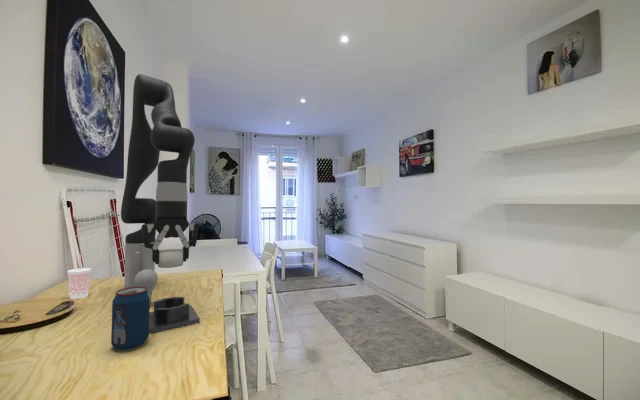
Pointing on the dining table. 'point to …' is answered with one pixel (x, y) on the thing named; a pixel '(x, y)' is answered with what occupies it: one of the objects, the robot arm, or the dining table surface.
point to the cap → (170, 258)
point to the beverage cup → (79, 281)
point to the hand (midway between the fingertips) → (170, 262)
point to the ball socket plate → (171, 314)
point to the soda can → (130, 318)
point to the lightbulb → (146, 280)
